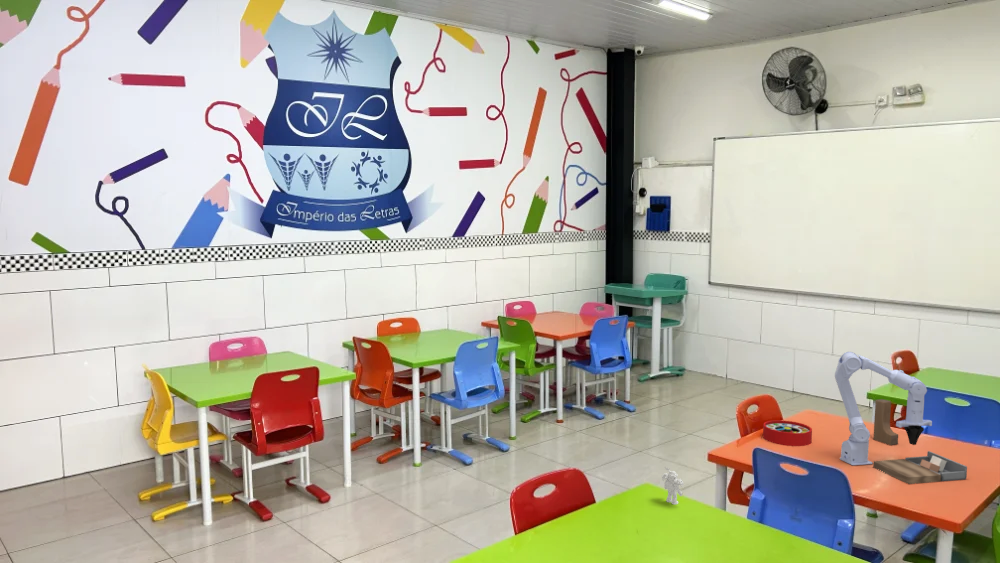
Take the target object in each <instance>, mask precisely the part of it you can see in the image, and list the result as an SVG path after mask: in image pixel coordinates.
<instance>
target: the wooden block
mask: <svg viewBox="0 0 1000 563" xmlns="http://www.w3.org/2000/svg"><path fill="white" fill-rule="evenodd" d="M874 405H875V407H874V422H873V438H872V439H873V441H876V442H879V441H880V442H879V443H882V442H883V443H882V444H885V443H886V444H885V445H888V444H889V445H888V446H895V444H896V445H898V444H899V434H898V433H897V432H895V431H893V429H892V428H891V412H892V411H891V410H892V409H891V408H892V401H891V400H887V399H883V398H880V399H876V400H875V404H874Z"/></svg>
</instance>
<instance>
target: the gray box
mask: <svg viewBox="0 0 1000 563" xmlns="http://www.w3.org/2000/svg"><path fill="white" fill-rule="evenodd" d="M926 454H927V455H924V456H911V457H909V456H908V457H905V458H904V459H905V460H908V461H910V462H912V463H915V464H917V465H919V466H921V465H920V463H921V461H922V459H923V460H925V461H928V462H930V460H931V458H932V456H936V457H938V458H940V459H943V460H945V461H947V462H946V464H945V467H944V469H943V471H942V472H941V471H938V473H937V472H935V471H933V472H935V473H937V474H940V475H941V481H940V482H950V481H953V482H954V481H961V480H962V481H963V480H967V475H968V466H967V465H964V464H962V463H960V462H957V461H955V460H953V459H949V458H948V457H945V456H942V455H940V454H937V453H935V452H933V451H930V450H927V452H926ZM921 467H923V466H921ZM924 468H925V467H924ZM926 469H928V468H926ZM928 470H930V469H928ZM931 471H932V470H931Z"/></svg>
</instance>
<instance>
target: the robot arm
mask: <svg viewBox="0 0 1000 563" xmlns="http://www.w3.org/2000/svg"><path fill="white" fill-rule="evenodd" d="M859 370H861V371H864V370H870V371H873V372H874V373H877V374H879V375H881V376H883V377H885V378H887V379H888V382H889V384H892V385H894V386H897V387H898V388H899V389H903V390H904V391H908V392H907V400H906V415H905V419H902V420H897V421H896V423H895V427H897V428H900V429H901V428H904V430H905V432H906V435H907V439H908V441H909V445H913V446H916V445H917V443H918V440H919V438H920V436H921V434H923V432H924V431H925V427H926V426H929V427H932V426H933V421H932V420H930V419H924V412H925V410H924V408H925V395H926V394H927V392H928V389H927V386H926V384H925V383H924V382H922V381H921V380H920V379H919V378H918V377H917V378H916V377H915V376H911V375H909V374H906V373H905V372H904V370H901V369H899V370H898V369H889V368H887V367H886V366H884V365H881V364H880V363H879V362H876V361H874V360H872V359H870V358H868V357H866V356H863V355H861V354H856V353H855V352H853V351H846V352H844V353H843V354H841V356H840V357H839V358H838V362H837V367H836V370H835V372H834V379H835V381H836V385H837V388H838V391H839V393H840V396H841V400H842V403H843V405H844V408H845V412H846V415H847V418H848V421H849V422H848V423H849V426H848V429H849V432H850V433H851V434H850V435H849V436H848V439H847V440H844V441H843V442H842V443H841V450H840V451H841V452H840V457H839V459H840V460H841V461H843V462H845V463H847V464H849V465H851V466H861V465H863V466H864V465H873V464H874V462H872V461H871V460H869V446H870V442H869V441H870V440H869V439H870V436H871V434H870V431H869V429H868V428H867V426H866V425H865V423H864V420H863V418H862V416H861V412H860V410H859V406H858V403H857V401H856V397H855V395H854V391H853V389H852V385H851V382H850V380H849V379H850V378H851V377H852V376H853V374H854V373H856V372H857V371H859ZM923 426H924V427H923Z"/></svg>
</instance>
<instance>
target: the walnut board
mask: <svg viewBox="0 0 1000 563" xmlns="http://www.w3.org/2000/svg"><path fill="white" fill-rule="evenodd" d="M872 465H873V467H872V468H874V469H876V470H878V469H879V470H878V471H880V470H881V471H880V472H882V471H883V472H882V473H884V472H885V473H884V474H886V473H887V474H886V475H888V474H889V475H888V476H890V475H891V477H892V476H893V477H892V478H894V477H895V479H896V480H898V481H900V482H903V483H906V484H907V483H908V484H907V485H913V484H914V485H915V483H916V484H925V483H926V484H927V483H938V482H942V481H941V475H940V474H937V473H935V472H933V471H931V470H928V469H926V468H924V467H921V466H919V465H917V464H915V463H912V462H910V461H908V460H905V458H901V459H899V458H898V459H889V460H888V459H885V460H883V459H882V460H873V464H872Z"/></svg>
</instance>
